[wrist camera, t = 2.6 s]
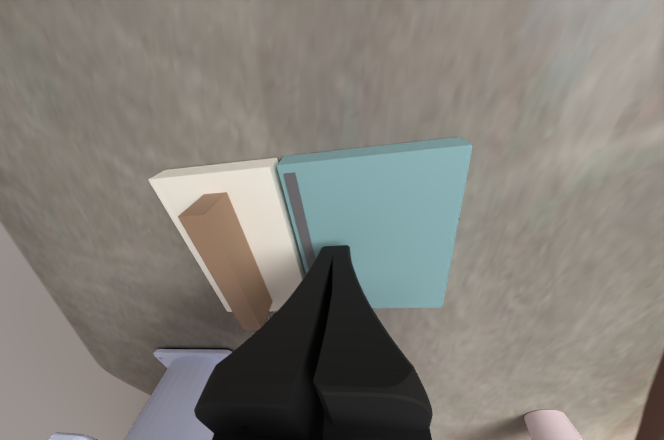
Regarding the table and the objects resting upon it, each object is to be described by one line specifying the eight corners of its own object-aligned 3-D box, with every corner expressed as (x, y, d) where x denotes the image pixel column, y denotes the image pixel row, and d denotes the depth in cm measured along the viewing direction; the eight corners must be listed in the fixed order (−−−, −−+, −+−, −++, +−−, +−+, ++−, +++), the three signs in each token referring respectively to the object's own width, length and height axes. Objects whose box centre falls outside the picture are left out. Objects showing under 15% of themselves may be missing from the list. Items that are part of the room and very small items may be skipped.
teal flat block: (436, 291, 16) (442, 308, 14) (318, 294, 17) (315, 310, 16) (461, 136, 10) (474, 145, 9) (283, 156, 11) (275, 166, 10)
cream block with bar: (313, 295, 17) (305, 339, 14) (234, 297, 17) (212, 339, 15) (276, 157, 11) (252, 186, 9) (165, 170, 12) (111, 199, 9)
